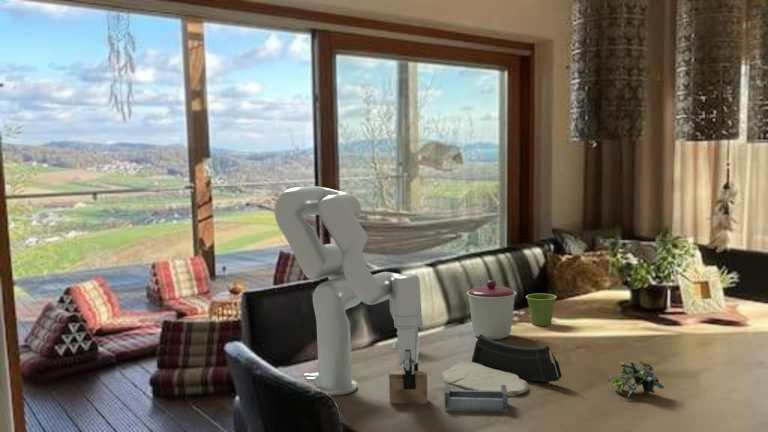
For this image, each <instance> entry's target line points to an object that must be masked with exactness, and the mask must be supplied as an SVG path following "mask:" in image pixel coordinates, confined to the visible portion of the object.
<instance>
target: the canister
mask: <svg viewBox="0 0 768 432" xmlns="http://www.w3.org/2000/svg"><path fill="white" fill-rule="evenodd" d="M466 295H467V296H468V300H469V301H468V302H469V310H470V318H471V324H472V326H471V327H472V330H473V333H474V335H475V336H476V337H477V338H478V337H479V335H481V334H482V335H483V336H485V337H487V338H489V339H491V340H494V341H496V340H503V339H505V338H507V337H509V335H510V334H511V332H512V327H513V326H512V324H513V316H514V307H515V297H516V295H517V292H516V290H513V289H512V288H511V287H510V288H509V287H506V286H499V285H497V282H496V281H495V280H493V279H491V280H490V279H489V280H487V281H486V284H485V285H482V286H480V285H479V286H475V287H472V288H471V289H469V290H468V291H466Z"/></svg>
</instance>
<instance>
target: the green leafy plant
mask: <svg viewBox="0 0 768 432" xmlns="http://www.w3.org/2000/svg"><path fill="white" fill-rule="evenodd" d="M639 363H640V364H638V363H637V362H635V361H634V360H632V361H631V362H630V363H628V364H626V363H623V362H620V366H621V367H622V368H621V369H622V372H621V374H620V375H619V376H617V377H616V378H615V377H614V375H610V377H609V378H608V379H607V381H608V382H609V383H610V382H611V384H610V385H611V387H612V388H614V387H616V389H617V390H620V391H619V392H620V393H623V390H624V388H625V387H626V386H627V387H628V389H627V390H628V391H627V392H628V395H627V397H626V399H629V397H630V396H631V394H633V393H634V391H636V389H637V387H639V386H641V387H642V389H643V392H645V394H650V393H652V394H655V393H656V392H655V390H654V387H655V386H656V387H657V388H658V389H661V390H663V389H664V388H665V385H663V384H661V383H660V382H659V378H658V376H654V375H655V374H656V373H655V372H653V371H655V370H654V367H653V366H652V365H651V364H650V363H648V362H646V361H642V360H640V361H639ZM611 379H613V380H612V381H611ZM632 379H633V380H634V383H632V382H631V381H632Z"/></svg>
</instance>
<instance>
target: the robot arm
mask: <svg viewBox="0 0 768 432" xmlns="http://www.w3.org/2000/svg"><path fill="white" fill-rule="evenodd" d="M361 212H362V206H361V203H360V201H359V200H358V198H357V197H356V196H354V195H353V194H351V193H348V192H344V191H339V190H336V189H332V188H327V187H323V186H316V185H313V186H297V187H291V188H288V189H286V190H284V191H282V192H281V193H280V194H279V196H278V197H277V199H276V202H275V206H274V218H275V221H276V223H277V226H278V228H279V230H280V232H281V233H282V234H283V236H284V238H285V239H286V241H287V242H288V245H289V247H290V250H291V251H292V253H293V255H294V257H295V259H296V261H297V263H298V265H299V267H300V269H301V270H302V272H303V274H304V275H305V277H307V278H308V279H309V280H314V281H315V280H321V279H325V278H328V280H326V281H324V282H323V281H322V282H321V283H320V284H319V285H317V286H316V288H315V289H314V291H313V293H312V305H313V309H314V314H315V319H316V320H315V321H316V337H317V339H316V340H317V343H316V344H317V367H318V368H317V369H318V372H315V373H304V376H303V379H304V381H306V383H314V384H313V388H314V387H315V388H317V389H320V390H322V391H324V392H326V393H328V394H329V395H328V396H340V395H341V396H342V395H347V394H350V393H353V392H355V391H356V390H357V388H358V383H357V381H355V380H354V379H352V373H353V372H352V348H351V346H352V344H351V343H352V342H351V339H352V338H351V324H350V320H349V318H348V316H347V313H346V310H349V309H350V308H351V309H352V308H354V307H356V306H358V305H359V304H360V303H363V304H365V305H371V306H372V305H376V304H379V303H381V302H384V301H388V300H389V299H391V298H393V314H394V319H393V327H394V328H395V329H397V328H398V330H397V331H398V335H397V338H398V349H397V357H398V359H397V360H398V361H397V363H398V365H399V366H402V365H403V368H402V369H403V370H402V371H403V387H404V389H415V388H416V381H415V374H414V371H419V364H418V359H419V351H420V350H419V349H420V347H419V345H420V344H419V328H420V327H423V315H422V314H423V313H422V300H421V299H422V297H421V283H420V282H421V281H420V278H419V276H418V274H414V273H397V272H396V273H395V272H390V271H382V272H378V273H375V274H373V273H371V271H370V269H369V268H368V266H367V264H366V262H365V259H364V255H363V254H364V253H363V252H364V247H365V245H366V243H367V241H368V235H367V232H365V230H364V228H363V227H362V225H361V224H360V222H359V220H358V218H359V217H360V215H361ZM315 215H316V216H319V218H320V220H321V222H322V223H323V225H324V226H325V228H326V230H327V232H329V235H330V236H331V238H333V241H334V242H335V243H327V244H323V242H322V241H321V239H320V238H319V235H318V234H317V232H316V230H315V228H314V227H313V226H312V225H311V224H310V223H309V222H308V221H306V219H305V217H307V216H315Z"/></svg>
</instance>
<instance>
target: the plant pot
mask: <svg viewBox="0 0 768 432" xmlns="http://www.w3.org/2000/svg"><path fill="white" fill-rule="evenodd" d="M525 298H526V299H527V304H528V307H529V313H530V319H531V324H532V325H534V326H536V325H539V326H538V327H545V326H547V327H549V326H551V325H552V320H553V319H552V318H553V313H554V312H553V310H554V306H555V302H556V299H557V295H554V294H550V293H531V294H527V295H526V296H525ZM548 325H549V326H548Z"/></svg>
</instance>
